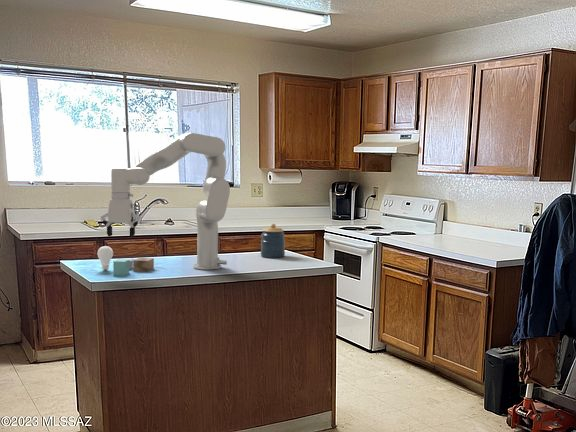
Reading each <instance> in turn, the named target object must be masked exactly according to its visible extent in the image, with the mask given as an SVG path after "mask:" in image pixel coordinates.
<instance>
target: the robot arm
mask: <svg viewBox="0 0 576 432" xmlns="http://www.w3.org/2000/svg"><path fill="white" fill-rule="evenodd" d="M225 152H226V143H225V142H224V140H223V139H222V138H220V137H217V136H212V135H205V134H200V133H195V132H187V133H183V134H181V135H179V136H177V137H176V138H175V139H173V140H172V141H170V142H168V143H167V144H166V145H164V146H163V147H161V148H159V150H157V151H155V152H153V153H152V154H151V155H149V156H148V157H145V159H143V160H141V161H140V162H138V163H137V164H135V165H134V166H132V167H131V168H129V167H113V168H112V169H111V170H110V171H111V174H110V175H111V199H109V204H108V210H107V211H108V212H107V213H105V214H103V215H101V216H100V220H101V221H102V223H103V225H105V227H106V234H107V237H112V236H113V226H112V225H113V224H128V225H129V226H130V227H129V237H130V238H134V237H135V234H136V227H137V226H138V225H139V223H140V222H141V219H142V217H141V216H139V215H137V214H136V213H135V210H134V204H133V199H131V198H133V197H134V194H132V193H131V185H137V186H143V185H146V184H147V183H148V182H149V181H150V177H151V175H153V174H156V173H157V172H159V171H161V170H164V169H167V168H169V167H171V166H173V165H175V163H177V162H178V161H180V160H182V158H185V157H186V156H187V155H189V154H190V153H194V154H195V153H196V154H199V155H204V157H205V159H206V162H207V168H206V174H205V178H204V182H203V187H202V189H203V194H205V196H206V197H207V199H204V200H201V201H199V203H198V204H197V206H196V209H195V216H196V223H197V224H196V226H197V228H196V229H197V230H196V231H197V236H196V237H197V238H196V239H197V240H196V241H197V243H196V246H197V247H196V248H197V250H196V251H197V252H196V255H197V257H196V258H197V260H196V263H195V264H194V265H193V269H196V270H202V271H203V270H204V271H207V270H217V269H221V268H222V265H225V266H226V265H228V261H227V260H225V259H220V256H219V224H218V223H219V222H220V221H221V220H222V219H223V218H224V217H225V214H226V211H227V207H228V203H229V198H230V194H231V187H230V184H229V182H228V180H227V179H225V177H226V172H227V171H226V170H227V161H226V160H227V159H226V157H225V155H224V154H225ZM106 218H107V219H108V221H107V219H106ZM135 219H136V220H135ZM134 221H135V222H134Z"/></svg>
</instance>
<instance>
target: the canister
mask: <svg viewBox="0 0 576 432" xmlns="http://www.w3.org/2000/svg"><path fill="white" fill-rule="evenodd" d="M262 231H263V232H262V233H261V234H260V236H261V240H260V256H261V257H262V258H267V259H280V258H281V259H282V258H284V257H285V255H286V254H285V253H286V252H285V249H286V248H285V247H286V245H285V244H286V239H285V236H286V234H285V233H284V231H285V230H284V229H282V227H277V226H276V224H275V223H271V224H270V227H269V226H268V227H265V228H263V229H262Z"/></svg>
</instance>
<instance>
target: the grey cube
mask: <svg viewBox="0 0 576 432" xmlns="http://www.w3.org/2000/svg"><path fill="white" fill-rule="evenodd" d="M123 260H129V270H133V260H134V259H133V258H130V259H129V258H127V259H123Z"/></svg>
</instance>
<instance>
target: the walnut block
mask: <svg viewBox="0 0 576 432" xmlns="http://www.w3.org/2000/svg"><path fill="white" fill-rule="evenodd" d="M154 260H155V259H154V257H137V258H135V259H133V269H132V270H133V272H147V273H148V272H151V271H153V270H154V268H155V261H154Z"/></svg>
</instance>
